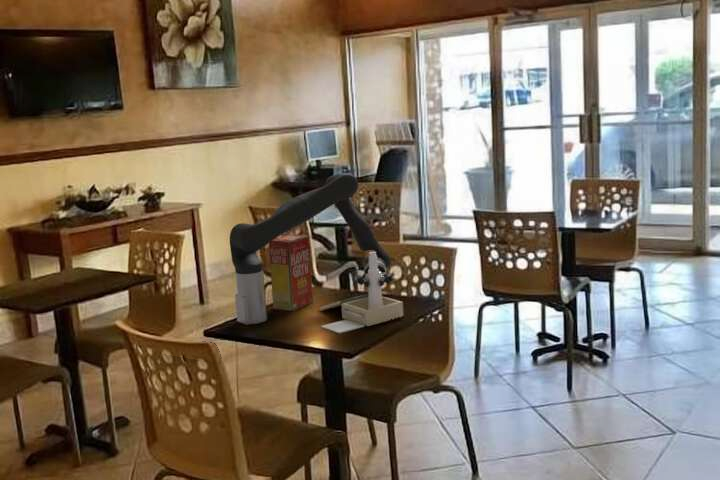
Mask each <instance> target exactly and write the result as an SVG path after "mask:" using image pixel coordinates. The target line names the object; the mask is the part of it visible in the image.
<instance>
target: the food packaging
mask: <svg viewBox="0 0 720 480" xmlns="http://www.w3.org/2000/svg"><path fill="white" fill-rule="evenodd" d="M268 247H269V248H268V250H269V266H270V280H271V281H270V282H271V294H272V296H271V297H272V309H273V310H280V311H289V312H294V311H296V310H298V309H301V308H304V307H306V306H308V305H311V304H313V303H314V298H313V297H314V295H313V282H312V281H313V280H312V279H313V278H312V267H311V266H312V264H311V251H310V249H311V248H310V235H308V234H296V233H295V234H294V233H291V234H290V233H289V234H287V235H283V236H281V237H280V236H279V237H277V238H275V239H274V240H272V241H271V242H270V243H268Z"/></svg>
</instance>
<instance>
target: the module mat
mask: <svg viewBox="0 0 720 480" xmlns="http://www.w3.org/2000/svg"><path fill="white" fill-rule="evenodd" d="M365 326H366V325H363V324H360V323H356V322H353V321H350V320H347V319H343V320H339V321H335V322H331V323H328V324H327V323H326V324H324V325H321V326H320V327H321V328H322V329H325V330H328V331H331V332H334V333H336V334H342V333H347V332H350V331H353V330H357V329H361V328H364V327H365Z"/></svg>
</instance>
